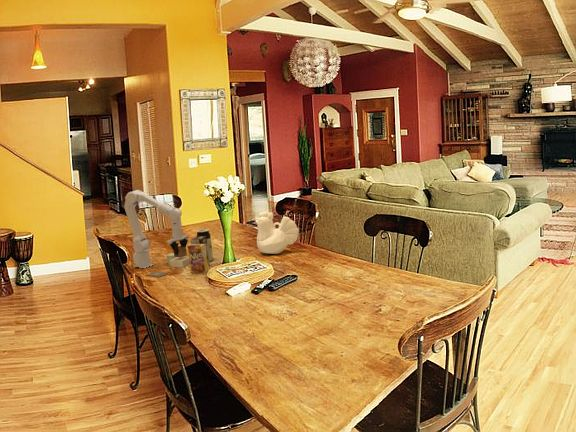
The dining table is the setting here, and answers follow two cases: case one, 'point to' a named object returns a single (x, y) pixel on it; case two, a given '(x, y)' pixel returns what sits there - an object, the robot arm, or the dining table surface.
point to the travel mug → (206, 233)
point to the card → (157, 274)
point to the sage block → (170, 257)
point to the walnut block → (181, 252)
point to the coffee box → (201, 241)
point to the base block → (179, 262)
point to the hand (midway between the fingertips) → (180, 253)
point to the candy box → (197, 258)
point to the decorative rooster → (275, 233)
